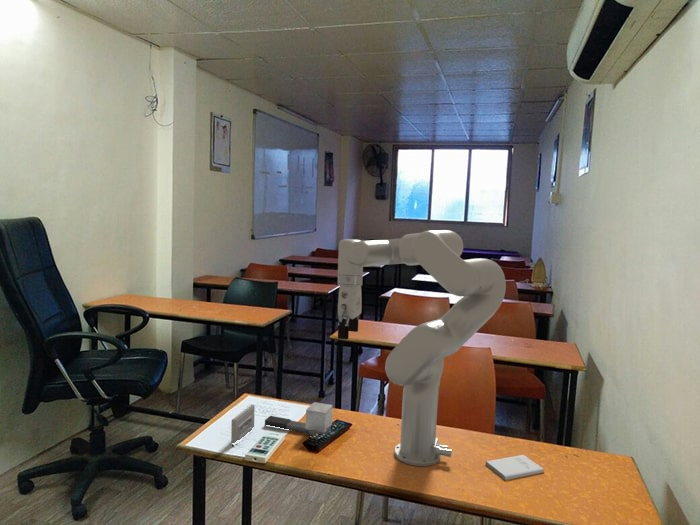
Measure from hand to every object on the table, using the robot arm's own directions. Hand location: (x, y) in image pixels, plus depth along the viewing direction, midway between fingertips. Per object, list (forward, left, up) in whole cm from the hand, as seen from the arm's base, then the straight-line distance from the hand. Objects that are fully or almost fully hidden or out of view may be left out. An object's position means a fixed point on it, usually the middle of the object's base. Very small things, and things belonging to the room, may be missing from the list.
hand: (348, 334), depth 152 cm
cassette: (+24, +20, -29) cm, 43 cm away
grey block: (+5, +10, -26) cm, 28 cm away
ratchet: (+11, +10, -28) cm, 32 cm away
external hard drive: (-50, +9, -29) cm, 59 cm away
